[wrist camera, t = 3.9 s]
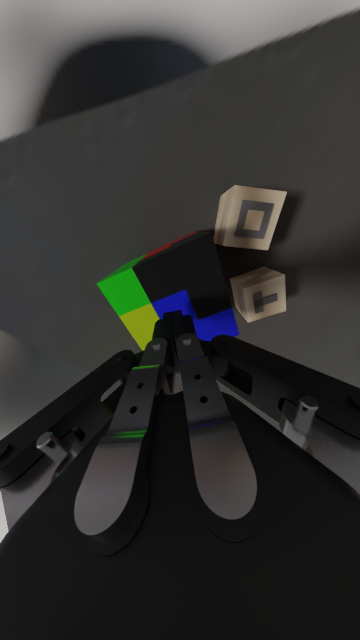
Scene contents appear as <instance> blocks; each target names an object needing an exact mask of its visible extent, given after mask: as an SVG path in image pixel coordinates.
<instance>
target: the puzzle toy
mask: <svg viewBox="0 0 360 640" xmlns="http://www.w3.org/2000/svg"><path fill="white" fill-rule="evenodd" d="M97 285H98V286H99V288H100V289H101V291H102V292H103V294H104V295H105V297H106V298H107V300H108V301H109V302H110V304H111V305H112V307H113V308H114V310H115V311H116V313H117V314H118V316H119V317H120V319H121V320H122V321H123V323H124V324H125V326H126V327H127V329H128V330H129V332H130V333H131V335H132V336H133V337H134V339H135V340H136V342H137V343H138V345H139V346H140V348H141V349H142V351H144V350H145V347H146V345H147V343H148V342H150V341H151V340H152V336H153V331H154V325H155V323H156V322H157V320H159V319H163V313H165V312H171V311H172V312H173V311H177V310H182V314H183V315H188V314H189V315H190V316H192V318H193V322H194V327H195V331H196V335H197V337H198V338H199V339H201V340H204V341H211V340H212V338H213V337H215V336H217V335H229V336H232V337H234V336H237V335H239V332H238V328H237V324H236V321H235V317H234V313H233V310H232V306H231V302H230V299H229V295H228V291H227V287H226V284H225V280H224V276H223V273H222V269H221V265H220V261H219V258H218V254H217V250H216V247H215V243H214V239H213V235H212V232H199V231H195V232H193V233H191V234H189V235H186V236H184V237H182V238H180V239H178V240H176V241H173V242H171V243H169V244H167V245H165V246H163V247H160V248H158V249H156V250H154V251H152V252H150V253H147V254H145V255H143V256H141V257H139V258H137V259H134V260H132V261H130V262H128V263H126V264H125V265H123V266H122V267H120V268H119V269H117V270H116V271H114V272H113V273H111V274H110V275H109V276H107V277H106V278H104V279H103V280H101V281H100V282H98V283H97Z"/></svg>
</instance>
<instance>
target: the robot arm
mask: <svg viewBox="0 0 360 640" xmlns="http://www.w3.org/2000/svg"><path fill="white" fill-rule="evenodd" d="M178 359H179V368H180V375H181V381H182V388H183V391H181V392H178V393H176V394H174V385H175V370H174V369H175V364H178ZM237 366H238V367H237ZM246 371H247V372H246ZM118 380H120V382H121V385H120V386H119V387H118V388H117V389H116V390H115V391H114V392H113V393H112V394H110V395H109V396H108V397H107V398H106V399H105V400H104V401H103V402H101V401H100V400H101V396H102V395H103V393H104V392H105V391H106V390H108V389H109V388H110V387H111V386H112V385H113V384H114V383H116V382H117V381H118ZM217 381H219V382H220V383H222V384H223V385H225V386H226V387H228V388H229V389H230V390H232V391H233V392H235V393H236V394H238V395H239V396H241V397H242V398H244V399H245V400H247V401H248V402H249V403H251V404H252V405H254V406H255V407H257V408H258V409H260V410H261V411H263V412H264V413H266V414H267V415H268V416H270V417H271V418H273V419H274V420H276V421H277V422H279V425H280V429H281V431H282V433H281V432H280V431H279V430H277V429H276V428H275V427H273V426H272V425H271V424H269V423H268V422H267V421H265V420H264V419H263V418H261V417H260V416H259V415H258V414H256V413H255V412H254V411H252V410H251V409H250V408H248V407H247V406H246V405H244V404H243V403H242V402H240V401H239V400H238V399H236V398H234V397H233V396H231V395H229V394H227V393H224V392H221V391H220V388H219V385H218V383H217ZM0 491H1V494H2V499H3V504H4V509H5V514H6V519H7V524H8V529H9V532H8V533H7V534H6V536H5V537H4V539H3V540H2V542H1V543H0V640H360V388H358V387H355V386H353V385H350V384H348V383H345V382H343V381H340V380H338V379H335V378H333V377H331V376H328V375H326V374H323V373H321V372H318V371H316V370H313V369H311V368H308V367H306V366H303V365H301V364H299V363H296V362H294V361H291V360H289V359H286V358H284V357H281V356H279V355H276V354H274V353H271V352H269V351H266V350H264V349H262V348H259V347H257V346H254V345H252V344H249V343H247V342H244V341H242V340H239V339H237V338H234V337H232V336H229V335H217V336H215V337H213V338H212V340H211V341H204V340H201V339H199V338H198V337H197V335H196V331H195V327H194V322H193V318H192V316H190V315H189V314H188V315H183V314H182V310H177V311H173V312H172V311H171V312H165V313H163V319H159V320H157V322H156V323H155V325H154V331H153V336H152V340H151V341H150V342H148V343H147V345H146V347H145V350H144V351H142V352H139V353H137V354H134V353H133V352H132V351H131V350H123V351H120V352H118V353H117V354H115V355H114V356H113V357H111V358H110V359H109V360H107V361H106V362H105V363H103V364H102V365H101V366H99V367H98V368H97V369H95V370H94V371H93V372H91V373H90V374H89V375H87V376H86V377H85V378H83V379H82V380H81V381H79V382H78V383H77V384H75V385H74V386H73V387H71V388H70V389H69V390H67V391H66V392H65V393H63V394H62V395H61V396H59V397H58V398H57V399H55V400H54V401H53V402H51V403H50V404H49V405H48V406H46V407H45V408H43V409H42V410H41V411H39V412H38V413H37V414H35V415H34V416H33V417H31V418H30V419H29V420H27V421H26V422H25V423H23V424H22V425H21V426H19V427H18V428H17V429H15V430H14V431H13V432H11V433H10V434H9V435H7V436H6V437H5V438H3V439H2V440H1V441H0Z"/></svg>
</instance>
